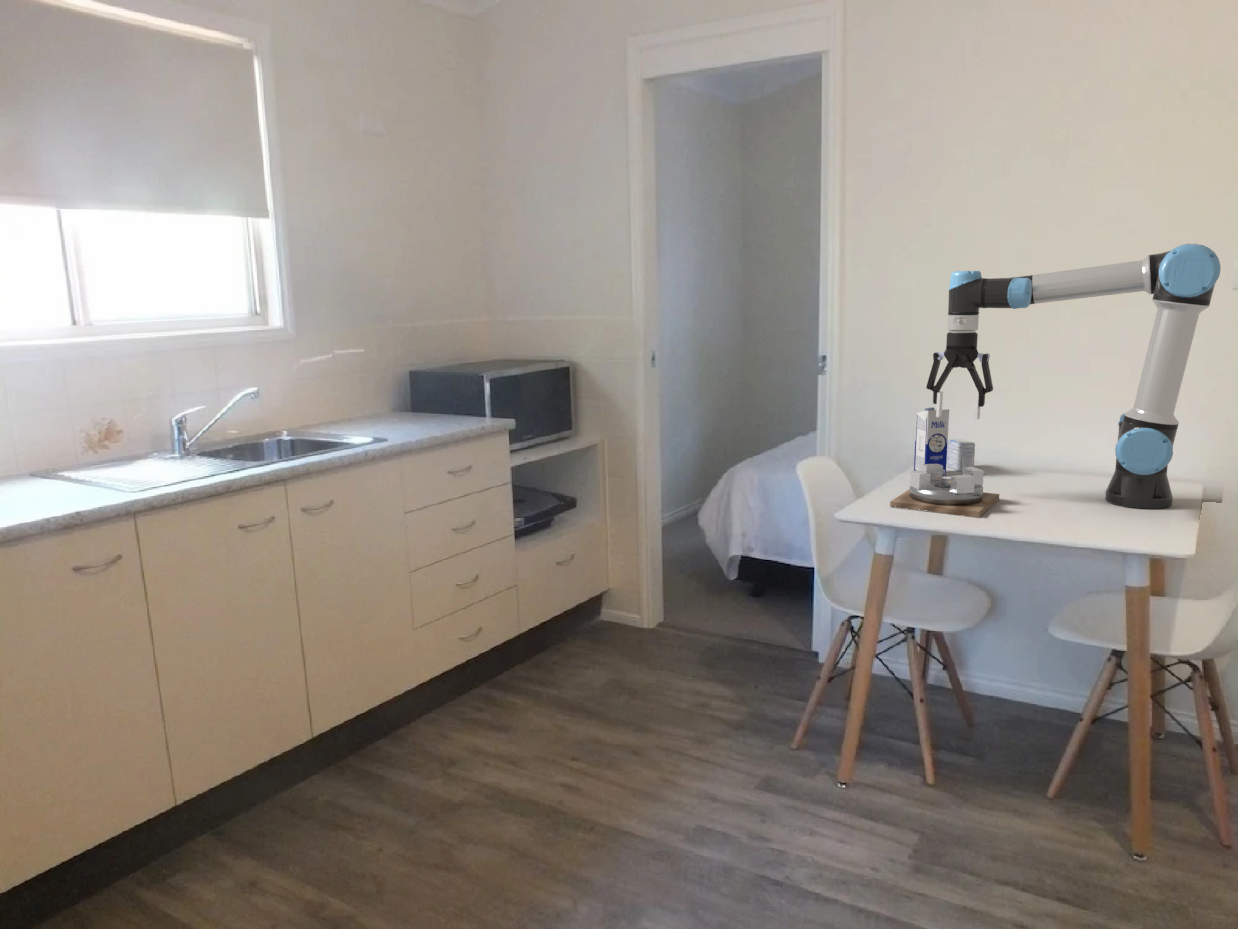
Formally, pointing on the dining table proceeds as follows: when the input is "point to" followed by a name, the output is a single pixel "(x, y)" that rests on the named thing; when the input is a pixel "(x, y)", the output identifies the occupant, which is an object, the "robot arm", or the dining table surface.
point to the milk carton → (931, 438)
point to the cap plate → (966, 510)
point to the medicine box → (960, 454)
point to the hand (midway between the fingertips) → (957, 417)
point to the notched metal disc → (946, 486)
